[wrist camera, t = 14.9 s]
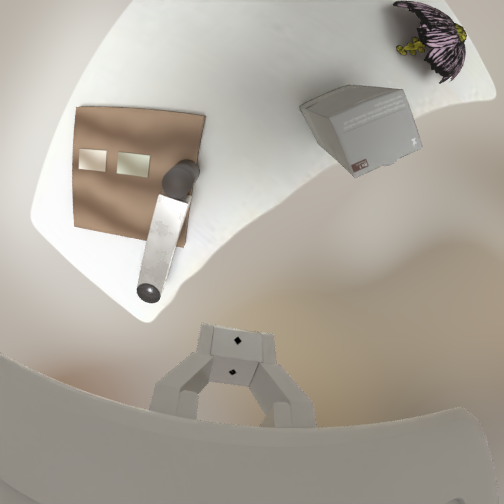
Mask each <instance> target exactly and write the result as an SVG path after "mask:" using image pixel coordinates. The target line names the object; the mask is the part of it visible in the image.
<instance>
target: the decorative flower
mask: <svg viewBox="0 0 504 504" xmlns="http://www.w3.org/2000/svg"><path fill="white" fill-rule="evenodd" d="M393 6H397V7H403V8H409V11H411V12H413V13H415V14H416V15H417V16H418V18H420V20H421V21H422V22H420V24H421V25H420V27H419V28H417V31H418V35H419V39H420V41H419V39H418V38H417V37H413V38H412V40H413V42H414V43H410V42H408V43H407V46H405V47H404V48H403V47H402V46H400V45H399V46H397V47H396V48H397V51H399V52H400V54H401V55H406V54H407V51H406V50H409V52H410V54H411V55H415V54H416V51H415V50H416V49H418V51H419V52H420V53H423V52H425V49H424V48H423V47H426V46H427V47H429V48H433V49H431V50H430V51H429V53H428V54H427V55H426V57H425V59H424V61H427V62H428V63H430V65H431V70H434V69H435V72H436V73H439V74H440V75H441V76H443V78H442V80H441V81H440V82H439V84H441V83H442V82H444V81H446V80H447V79H449V78H450V77H451V76H452V78H451V81H452V80H453V79H454V78H455V77H456V76H457V74H458V73H459V72H460V70H461V68H462V66H463V64H464V60H465V53H466V52H465V45H464V42H465V40H466V37H467V35H466V32H465V30H464V28H463V27H462V26H460V25H458V24H456V23H454V22H453V21H452V19H451V18H450V17H449V16H448V15H446V14H445V13H443V12H442V11H440V10H438V9H436V8H433V7H431V6H429V5H426V4H423V3H419V2H413V1H396V2H395V3H393Z"/></svg>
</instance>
